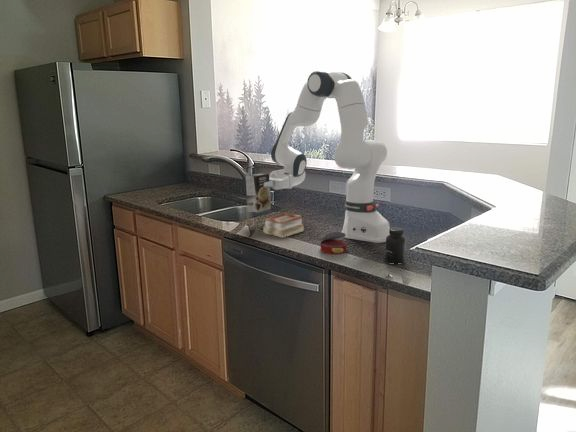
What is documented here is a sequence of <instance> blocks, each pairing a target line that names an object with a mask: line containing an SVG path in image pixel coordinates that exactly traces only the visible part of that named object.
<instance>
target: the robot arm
mask: <svg viewBox="0 0 576 432" xmlns="http://www.w3.org/2000/svg"><path fill="white" fill-rule="evenodd" d="M326 99H334V100H335V101H336V106H337V110H338V116H339V121H340V123H339V124H340V131H341V134H340V137H339V138H340V139H339V142H338V145H336V147H335V149H334V153H333V160H334V162H335V165H337V166H338V167H339V168H341V169H348V170H353V173H352V175H351V176H350V177H349V178H348V179H347V181H346V187H345V188H346V191H345V192H346V193H345V194H346V195H345V196H346V197H345V198H346V199H345V200H344V211H345V214H344V221H343V226H342V229H341V233H344V234H346V236H344V237H343V238H345V239H351V240H357V241H365V242H370V243H376V244H380V243H386V237H387V236H388V235H390V234H389V229H390V228H391V227H390V223H389V220H387V219H386V218H385V217H384V216H383V215H382V214H381V213H380V212H379V211H378V210H377V208H378V206H379V203H375V201H374V188H375V187H374V186H375V182H376V181H375V180H376V178H377V174H378V171H379V169H380V167H381V165H382V164H383V163H384V161H385V160H386V158H387V157H388V156H387V155H388V149H387V147H386V145H385V144H384V142H382V141H379V140H376V139H364V133H365V129H366V128H367V127H368V125H369V117H368V111H367V108H366V103H365V99H364V95H363V92H362V89H361V87H360V84H359V82H358V81H356V80H354V79H352V77H351V76H350V75H349V74H347V73H346V72H345V73H344V72H339V71H336V70H327V69H326V70H325V69H324V70H323V69H318V70H315V71H312V72H311V73H310V74H309V75H308V77H307V82H305V83H304V84H303V87H302V89H301V91H300V94H299V96H298V99H297V103H296V106H295V108H294V110H293V111H291V112H289V113H288V114H287V116H286V118H285V120H284V122H283V124H282V128H281V129H280V132H279V133H278V137H277V139H276V141H275V143H274V145H273V146H272V147H271V150H270V157H271V158H270V159H271V160H272V162H273V163H276V164H278V165H280V166H282V167H283V168H281V169H277V170H273V171H271V172H270V173H269V182H263V183H262V186H263V187H266V186H269V187H270V188H272V189H273V190H276V191H278V190H283V189H284V190H285V189H288V190H289V189H290V190H291V189H292V188H293V187H296V186H298V185H300V184H302V183H303V182H304V181H305V179H306V168H307V164H308V163H307V161H308V160H307V157H306V154H304V153H302V152H301V151H299V150H297V149H296V148H293V147H291V146H290V145H289V142H290V140H291V137H292V135H293V133H294V130H295V129H296V128H297V127H310V126H312V125H314V124H316V123H317V121H318V120H319V119H320V115H321V112H322V108H323V105H324V102H325V101H326Z"/></svg>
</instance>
